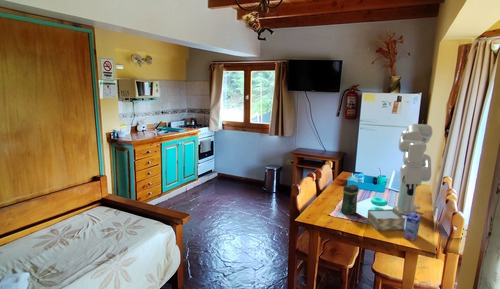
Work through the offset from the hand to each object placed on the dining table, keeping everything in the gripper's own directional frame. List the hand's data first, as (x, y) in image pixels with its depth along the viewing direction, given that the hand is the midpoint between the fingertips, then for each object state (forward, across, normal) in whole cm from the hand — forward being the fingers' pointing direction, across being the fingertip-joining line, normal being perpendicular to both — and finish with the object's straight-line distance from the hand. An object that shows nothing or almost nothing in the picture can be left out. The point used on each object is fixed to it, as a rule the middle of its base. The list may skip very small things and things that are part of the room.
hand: (409, 194), depth 173 cm
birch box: (+19, +13, 0) cm, 23 cm away
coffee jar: (+19, +27, -20) cm, 38 cm away
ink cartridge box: (+20, +5, +12) cm, 24 cm away
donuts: (+19, +9, -16) cm, 27 cm away
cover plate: (+13, +13, 0) cm, 18 cm away
